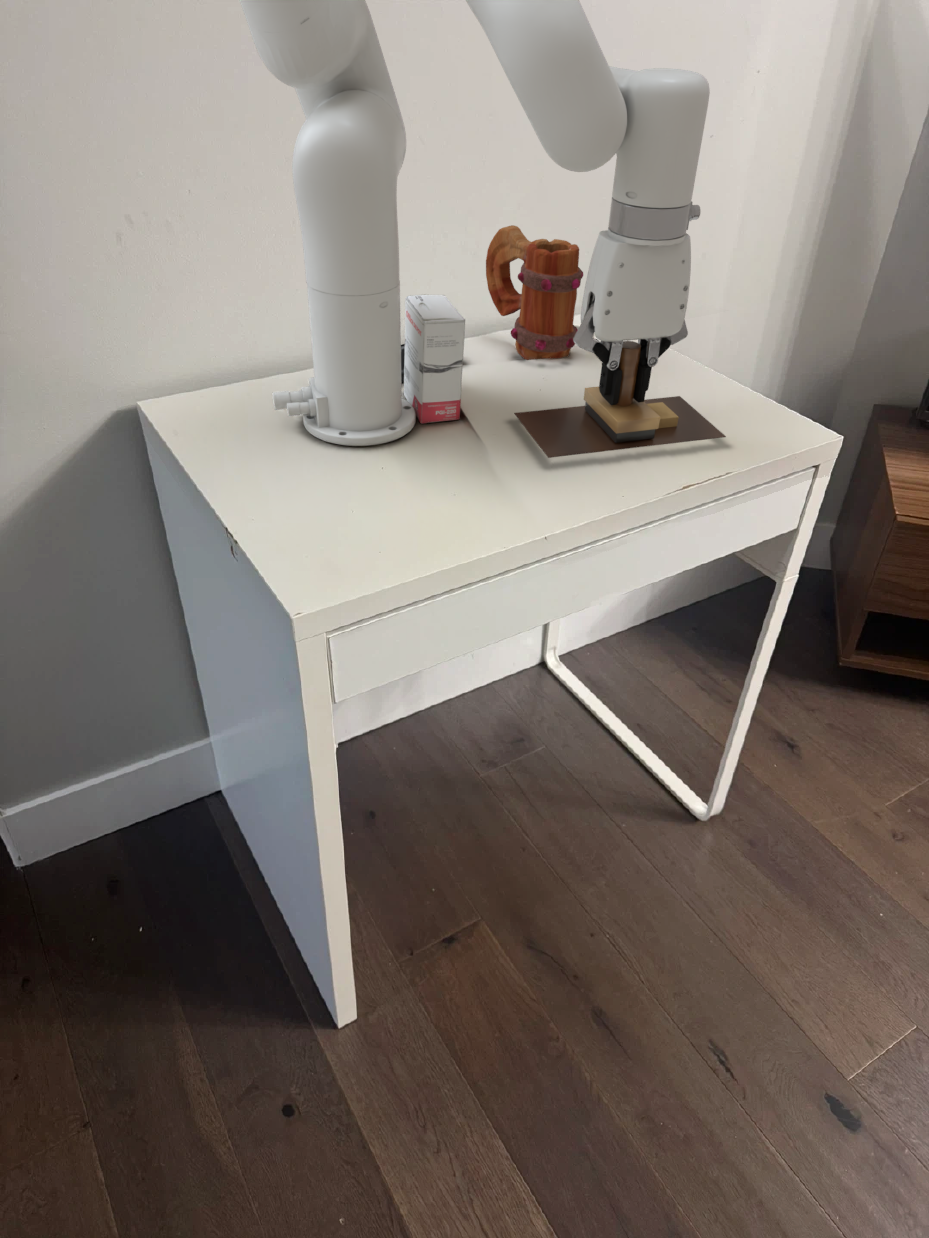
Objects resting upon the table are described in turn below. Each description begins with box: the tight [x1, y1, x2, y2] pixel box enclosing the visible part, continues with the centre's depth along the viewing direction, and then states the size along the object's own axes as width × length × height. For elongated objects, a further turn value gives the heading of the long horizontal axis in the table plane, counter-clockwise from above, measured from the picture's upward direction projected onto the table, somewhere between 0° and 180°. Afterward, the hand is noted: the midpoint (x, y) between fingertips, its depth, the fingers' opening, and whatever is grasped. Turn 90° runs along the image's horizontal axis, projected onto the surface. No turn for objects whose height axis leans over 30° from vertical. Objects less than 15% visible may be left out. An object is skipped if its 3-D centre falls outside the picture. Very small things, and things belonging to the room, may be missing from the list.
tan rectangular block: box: [647, 402, 679, 429], centre depth 99 cm, size 4×4×1 cm
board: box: [514, 395, 727, 459], centre depth 99 cm, size 21×11×1 cm, turn 107°
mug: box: [485, 225, 584, 361], centre depth 113 cm, size 15×8×15 cm, turn 46°
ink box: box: [403, 293, 466, 424], centre depth 99 cm, size 9×5×12 cm, turn 17°
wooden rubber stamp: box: [583, 340, 660, 443], centre depth 95 cm, size 5×9×9 cm, turn 17°
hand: (622, 397), depth 96 cm, fingers closed on wooden rubber stamp, 2 cm apart
